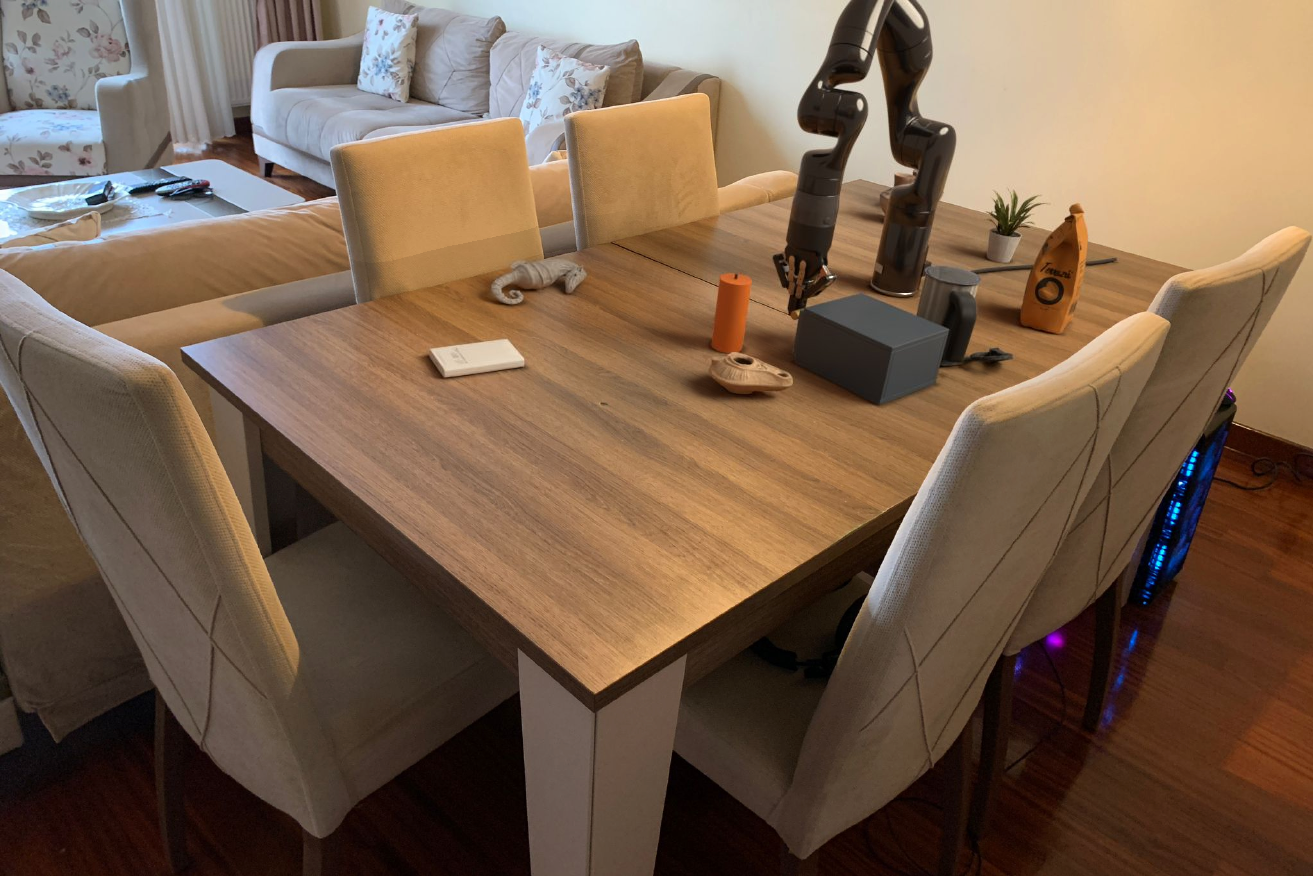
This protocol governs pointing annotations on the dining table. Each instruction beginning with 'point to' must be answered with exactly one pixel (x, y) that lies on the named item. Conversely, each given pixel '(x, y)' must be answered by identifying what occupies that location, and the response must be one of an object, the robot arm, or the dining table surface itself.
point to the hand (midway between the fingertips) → (794, 315)
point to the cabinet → (870, 347)
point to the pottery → (898, 180)
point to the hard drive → (476, 358)
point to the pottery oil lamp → (747, 374)
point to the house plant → (1007, 228)
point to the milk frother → (954, 312)
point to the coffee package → (1057, 276)
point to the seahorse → (537, 277)
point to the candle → (731, 312)
